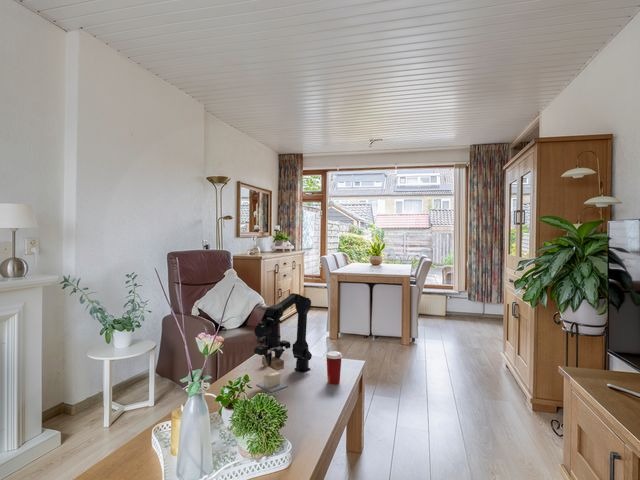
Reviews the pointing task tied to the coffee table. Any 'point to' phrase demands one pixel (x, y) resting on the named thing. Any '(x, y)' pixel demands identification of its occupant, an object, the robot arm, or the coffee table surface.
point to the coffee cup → (333, 367)
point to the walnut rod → (274, 363)
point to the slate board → (274, 388)
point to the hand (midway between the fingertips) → (272, 365)
